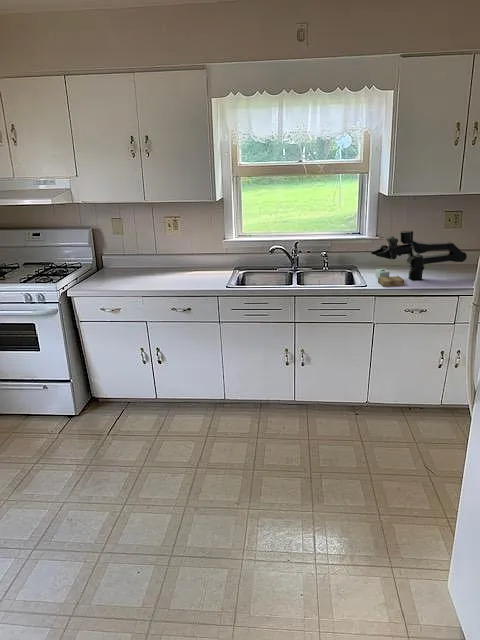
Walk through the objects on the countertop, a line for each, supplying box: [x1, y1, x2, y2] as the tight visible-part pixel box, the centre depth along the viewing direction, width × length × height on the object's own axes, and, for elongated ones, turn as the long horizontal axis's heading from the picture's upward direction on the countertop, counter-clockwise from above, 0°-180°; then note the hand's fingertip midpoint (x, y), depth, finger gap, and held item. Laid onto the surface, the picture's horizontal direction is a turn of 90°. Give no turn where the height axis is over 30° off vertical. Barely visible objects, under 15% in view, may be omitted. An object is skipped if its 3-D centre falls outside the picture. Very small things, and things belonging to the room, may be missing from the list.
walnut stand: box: [377, 275, 406, 288], centre depth 269 cm, size 12×9×3 cm
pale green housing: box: [375, 268, 390, 280], centre depth 280 cm, size 6×8×6 cm
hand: (373, 254), depth 271 cm, fingers open, 9 cm apart
